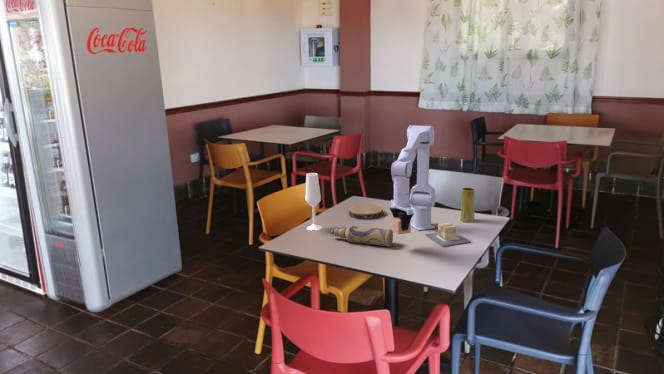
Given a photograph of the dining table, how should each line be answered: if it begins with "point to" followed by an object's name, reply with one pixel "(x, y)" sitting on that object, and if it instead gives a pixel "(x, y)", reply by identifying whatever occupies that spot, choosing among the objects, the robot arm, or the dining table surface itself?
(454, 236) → the beech block
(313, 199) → the champagne flute
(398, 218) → the terracotta block
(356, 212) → the wood slice
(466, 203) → the vase
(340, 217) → the dining table surface
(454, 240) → the baseplate
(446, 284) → the dining table surface
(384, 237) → the decorative bottle
